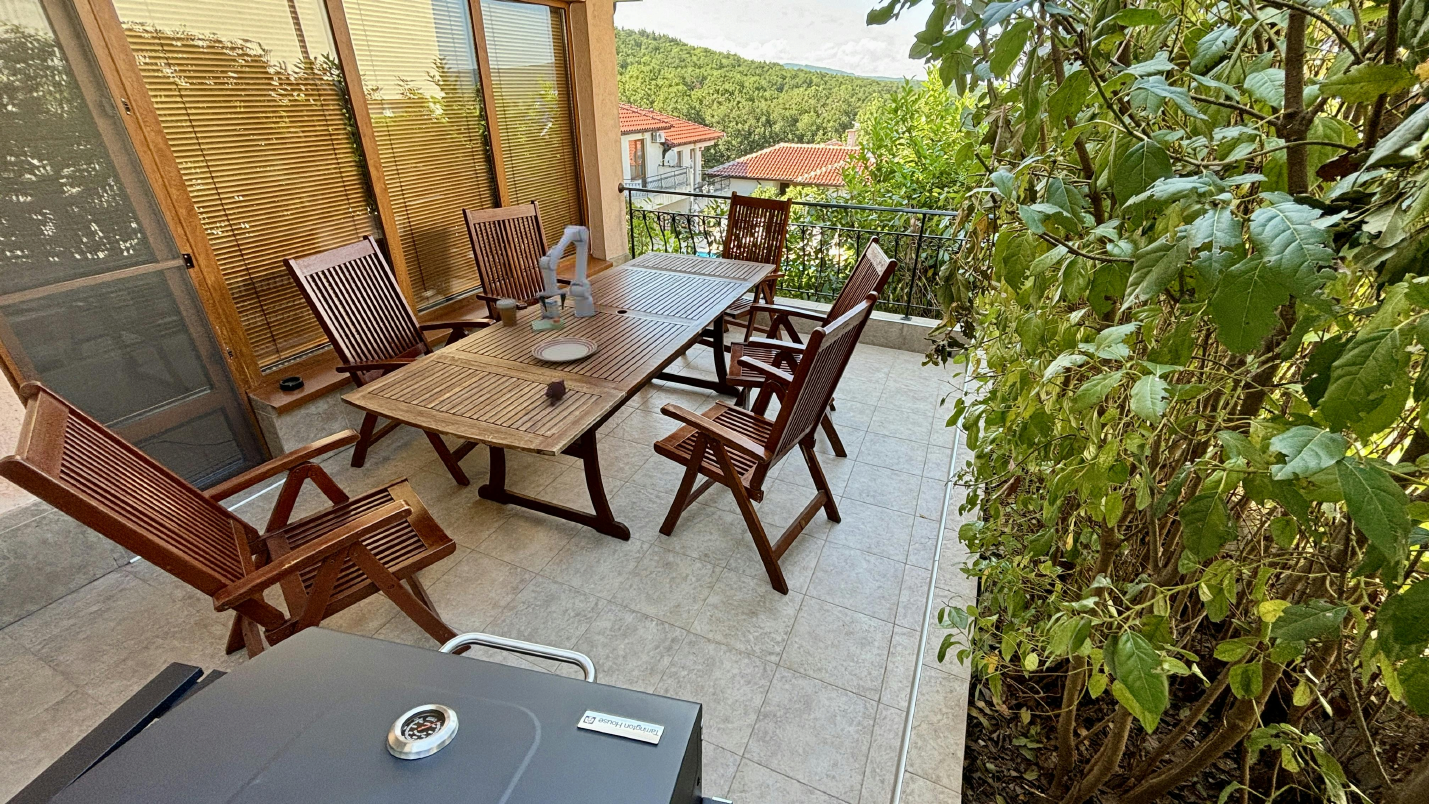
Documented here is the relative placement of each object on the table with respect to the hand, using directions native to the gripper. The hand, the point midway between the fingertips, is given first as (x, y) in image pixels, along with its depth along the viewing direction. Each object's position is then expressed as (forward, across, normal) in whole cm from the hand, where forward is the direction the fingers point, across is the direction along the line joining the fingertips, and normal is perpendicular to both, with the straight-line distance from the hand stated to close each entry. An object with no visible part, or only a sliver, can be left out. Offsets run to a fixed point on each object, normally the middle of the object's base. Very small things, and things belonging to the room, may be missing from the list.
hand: (554, 310), depth 286 cm
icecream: (+10, -7, -79) cm, 80 cm away
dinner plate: (+9, 0, -36) cm, 38 cm away
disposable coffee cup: (+9, -21, +13) cm, 27 cm away
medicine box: (+8, -2, +18) cm, 20 cm away
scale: (+9, -4, +3) cm, 10 cm away
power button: (+6, 0, 0) cm, 6 cm away
